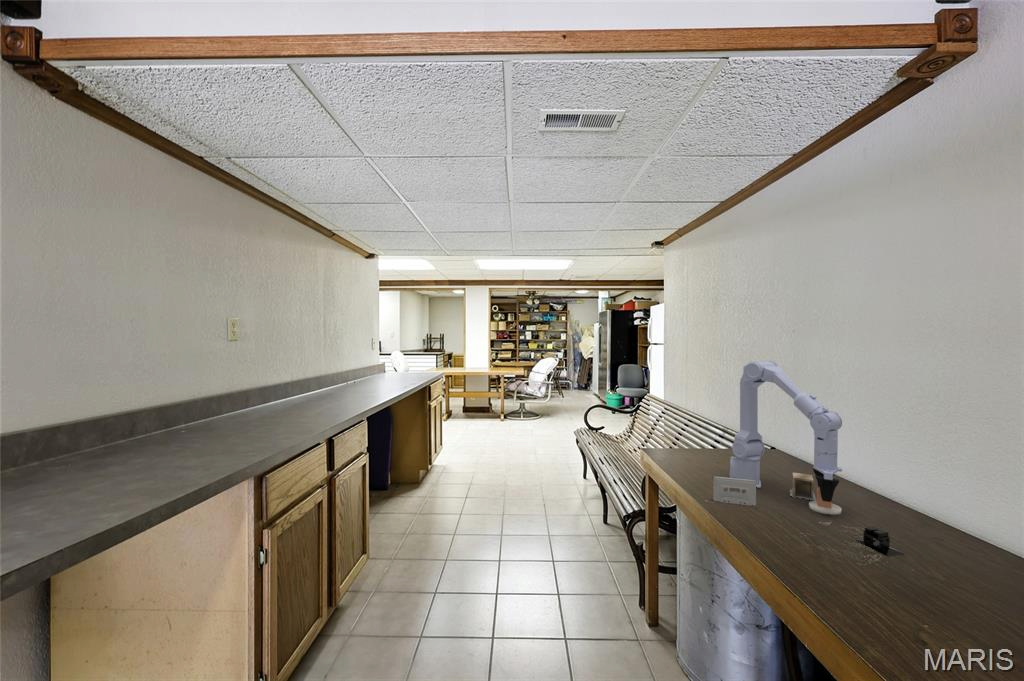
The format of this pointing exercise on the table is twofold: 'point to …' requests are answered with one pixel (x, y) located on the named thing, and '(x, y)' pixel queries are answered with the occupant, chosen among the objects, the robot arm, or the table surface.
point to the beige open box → (802, 484)
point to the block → (822, 503)
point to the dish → (834, 511)
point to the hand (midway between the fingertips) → (825, 497)
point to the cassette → (733, 496)
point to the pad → (803, 495)
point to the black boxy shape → (880, 546)
